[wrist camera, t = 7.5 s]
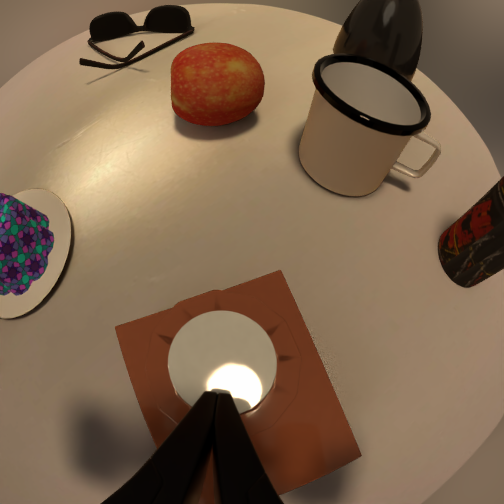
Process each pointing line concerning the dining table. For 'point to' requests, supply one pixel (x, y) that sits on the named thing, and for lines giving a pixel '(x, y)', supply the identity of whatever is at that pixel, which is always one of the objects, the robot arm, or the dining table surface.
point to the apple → (215, 84)
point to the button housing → (275, 402)
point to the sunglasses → (122, 24)
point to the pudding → (31, 248)
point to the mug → (361, 124)
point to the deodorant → (476, 241)
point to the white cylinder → (223, 359)
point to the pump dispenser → (384, 33)
